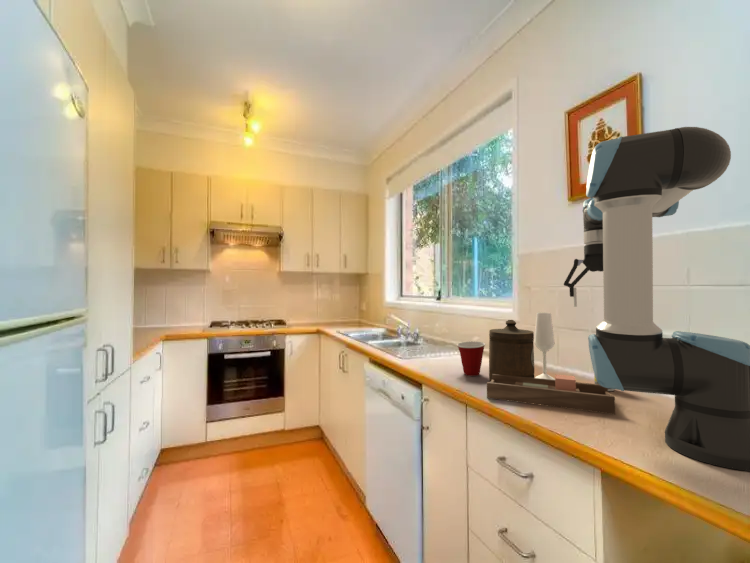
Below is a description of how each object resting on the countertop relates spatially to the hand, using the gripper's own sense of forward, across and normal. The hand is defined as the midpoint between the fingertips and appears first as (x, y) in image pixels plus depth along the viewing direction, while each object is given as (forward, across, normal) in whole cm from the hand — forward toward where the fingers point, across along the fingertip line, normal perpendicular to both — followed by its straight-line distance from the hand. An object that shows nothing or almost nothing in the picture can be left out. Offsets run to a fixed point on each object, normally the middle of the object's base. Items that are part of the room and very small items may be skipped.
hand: (598, 306), depth 116 cm
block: (+24, +11, +23) cm, 35 cm away
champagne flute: (+27, +17, -4) cm, 32 cm away
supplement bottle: (+27, -1, +3) cm, 27 cm away
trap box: (+27, +16, +23) cm, 39 cm away
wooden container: (+27, +27, +7) cm, 39 cm away
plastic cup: (+27, +42, +1) cm, 50 cm away
